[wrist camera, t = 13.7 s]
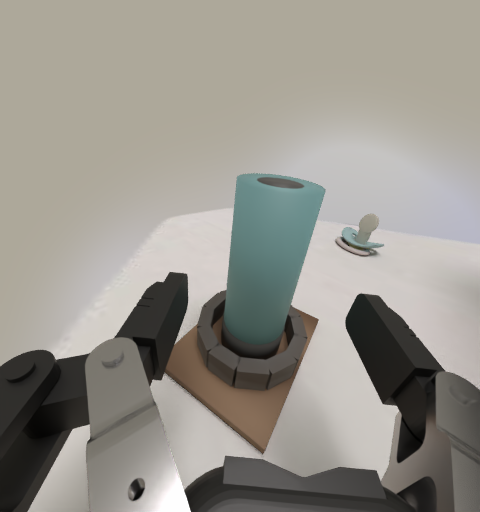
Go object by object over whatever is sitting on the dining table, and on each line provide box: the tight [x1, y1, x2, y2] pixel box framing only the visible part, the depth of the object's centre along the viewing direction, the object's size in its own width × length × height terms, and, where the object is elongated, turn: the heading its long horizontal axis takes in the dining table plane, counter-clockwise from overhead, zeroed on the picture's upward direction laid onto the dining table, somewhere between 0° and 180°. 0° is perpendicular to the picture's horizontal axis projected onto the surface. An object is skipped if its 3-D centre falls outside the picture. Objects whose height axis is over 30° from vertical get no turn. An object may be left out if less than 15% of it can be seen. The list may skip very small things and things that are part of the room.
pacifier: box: [336, 214, 384, 255], centre depth 37 cm, size 7×6×6 cm
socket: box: [165, 290, 319, 453], centre depth 18 cm, size 12×9×3 cm
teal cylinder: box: [221, 174, 325, 360], centre depth 15 cm, size 5×5×13 cm
